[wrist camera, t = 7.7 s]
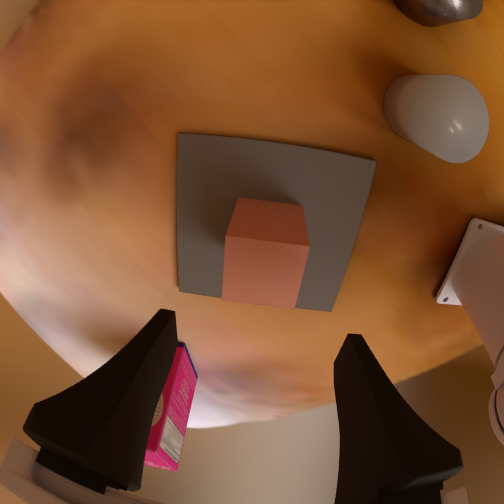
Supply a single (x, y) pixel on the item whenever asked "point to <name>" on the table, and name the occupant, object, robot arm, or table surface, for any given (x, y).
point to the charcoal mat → (269, 189)
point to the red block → (265, 253)
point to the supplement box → (172, 413)
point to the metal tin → (439, 10)
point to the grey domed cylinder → (438, 114)
